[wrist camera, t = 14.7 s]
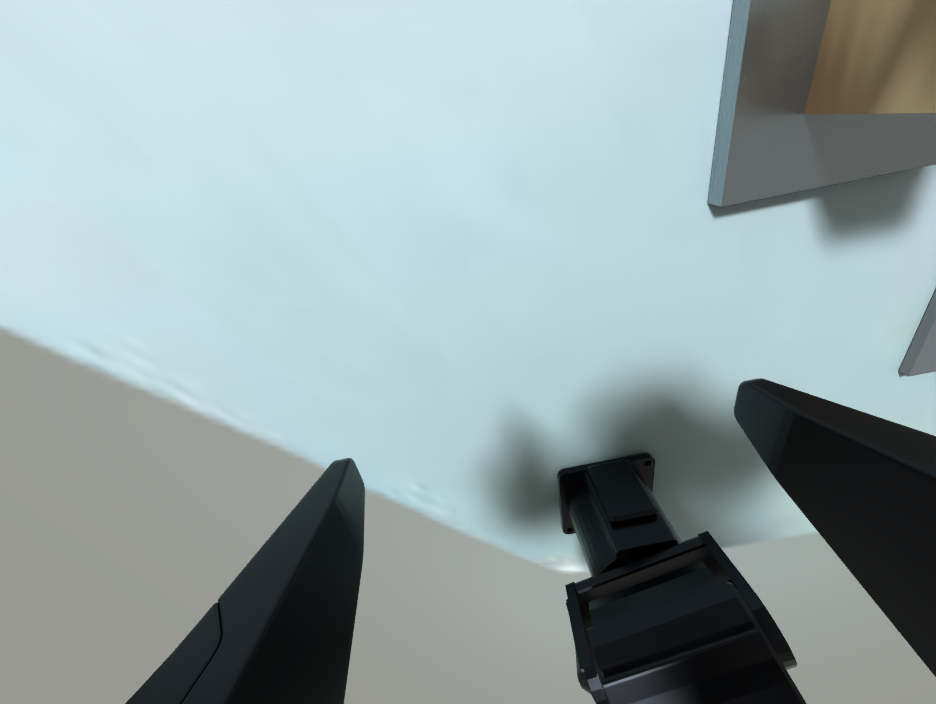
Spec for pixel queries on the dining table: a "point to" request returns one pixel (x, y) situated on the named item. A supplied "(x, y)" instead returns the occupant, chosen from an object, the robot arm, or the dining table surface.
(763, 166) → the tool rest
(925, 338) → the rubber mat
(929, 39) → the walnut block
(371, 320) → the dining table surface
